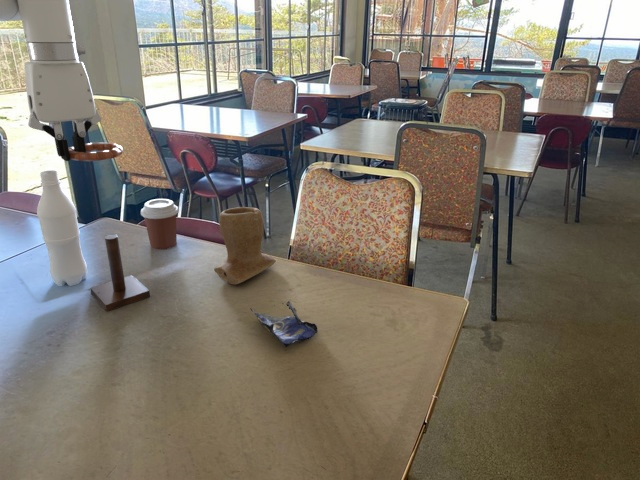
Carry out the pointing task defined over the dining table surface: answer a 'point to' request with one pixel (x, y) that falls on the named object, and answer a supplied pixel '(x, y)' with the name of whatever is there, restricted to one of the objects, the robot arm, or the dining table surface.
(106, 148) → the hanging ring
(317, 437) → the dining table surface
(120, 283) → the ring toss peg
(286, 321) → the snack package
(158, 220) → the coffee cup
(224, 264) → the stone cup
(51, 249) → the water bottle
